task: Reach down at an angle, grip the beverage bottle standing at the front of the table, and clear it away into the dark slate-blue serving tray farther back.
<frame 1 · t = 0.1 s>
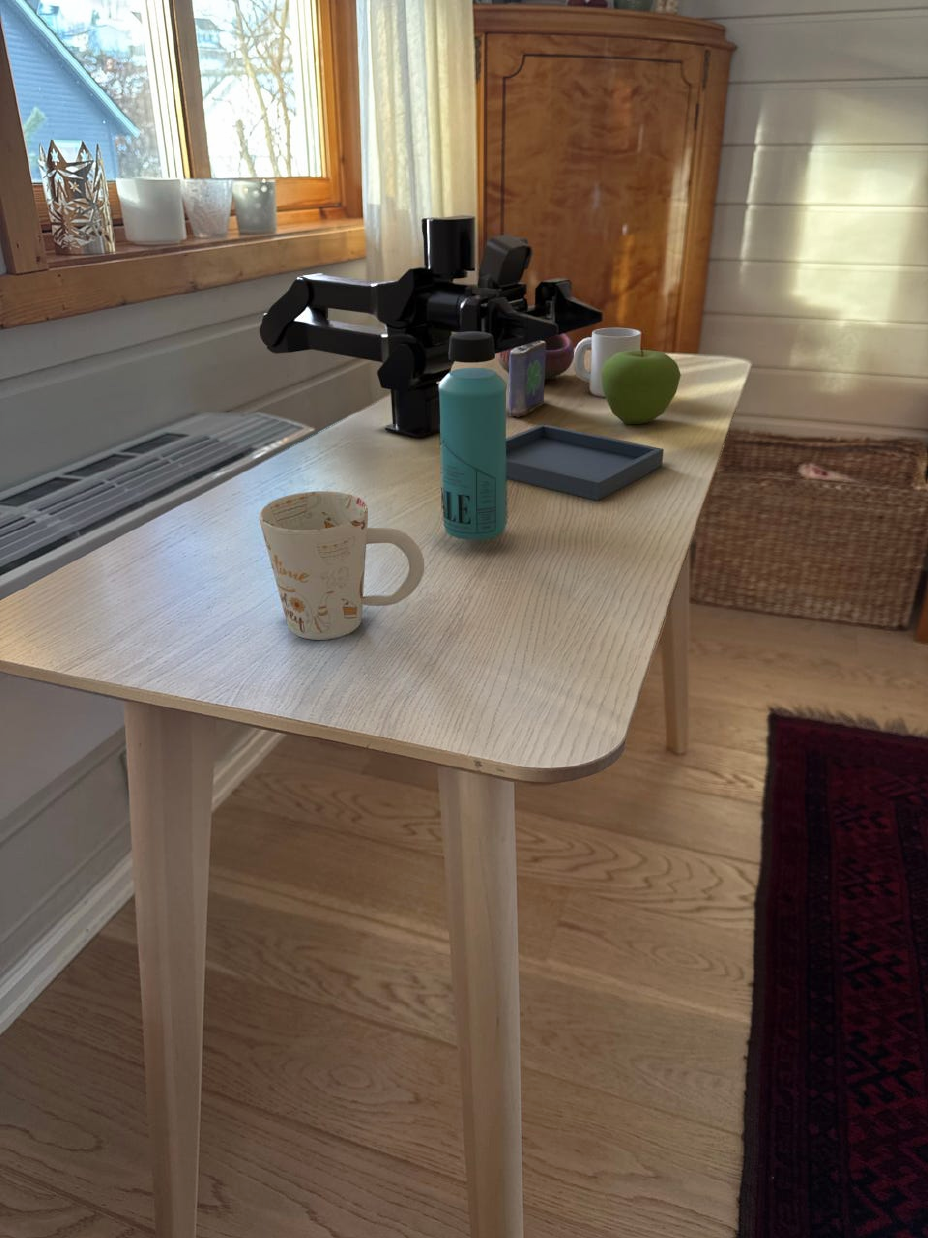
hand: (580, 323, 100), 17 cm above the table, tool horizontal, fingers open, 9 cm apart
apple: (636, 422, 124), on the table
flask: (525, 410, 130), on the table
bowl: (524, 379, 147), on the table
beverage bottle: (474, 543, 88), on the table
tray: (567, 467, 107), on the table
cup: (603, 392, 138), on the table
mug: (351, 623, 74), on the table
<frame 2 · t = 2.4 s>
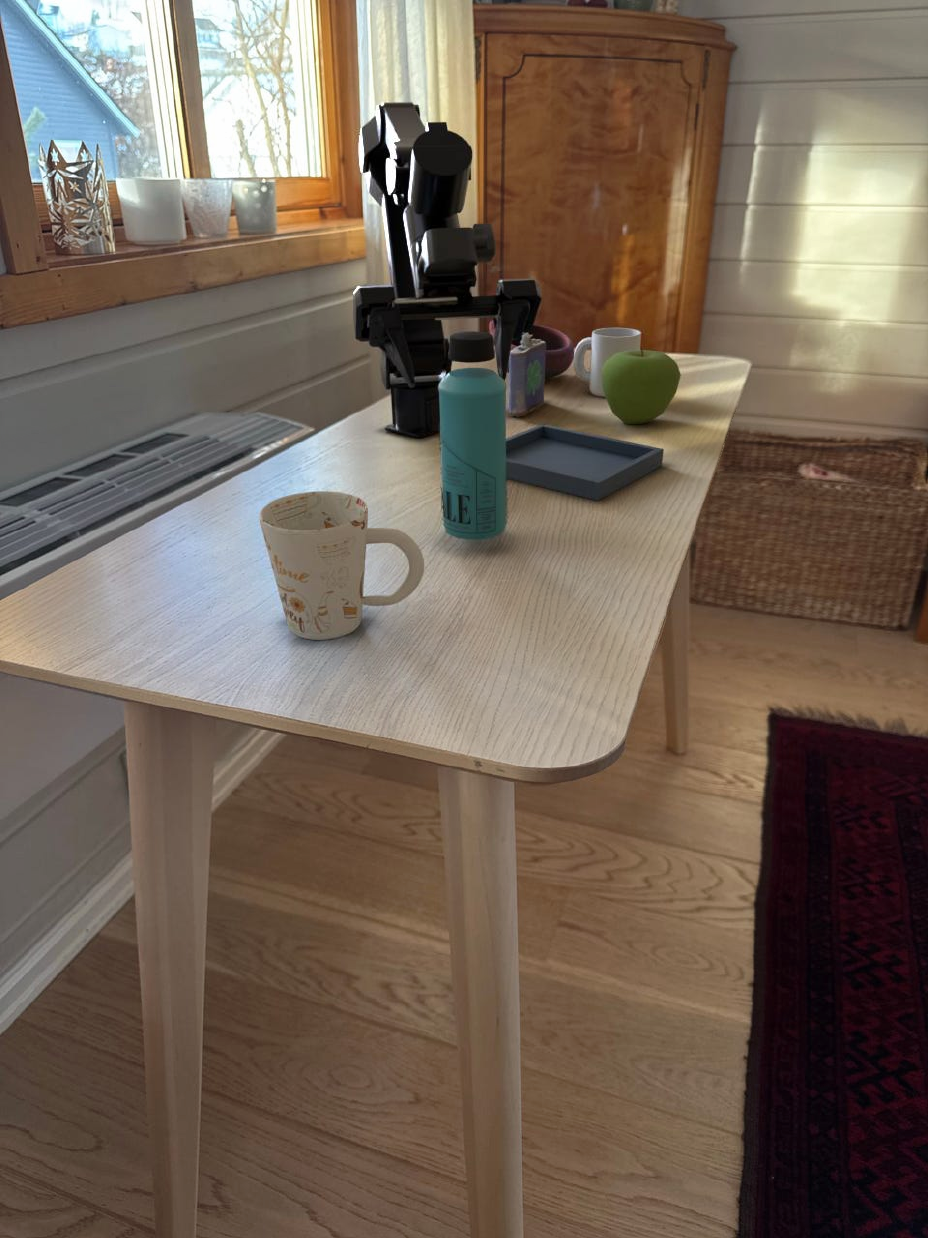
hand: (458, 382, 89), 14 cm above the table, tool tilted 45°, fingers open, 9 cm apart
nothing on the table moved.
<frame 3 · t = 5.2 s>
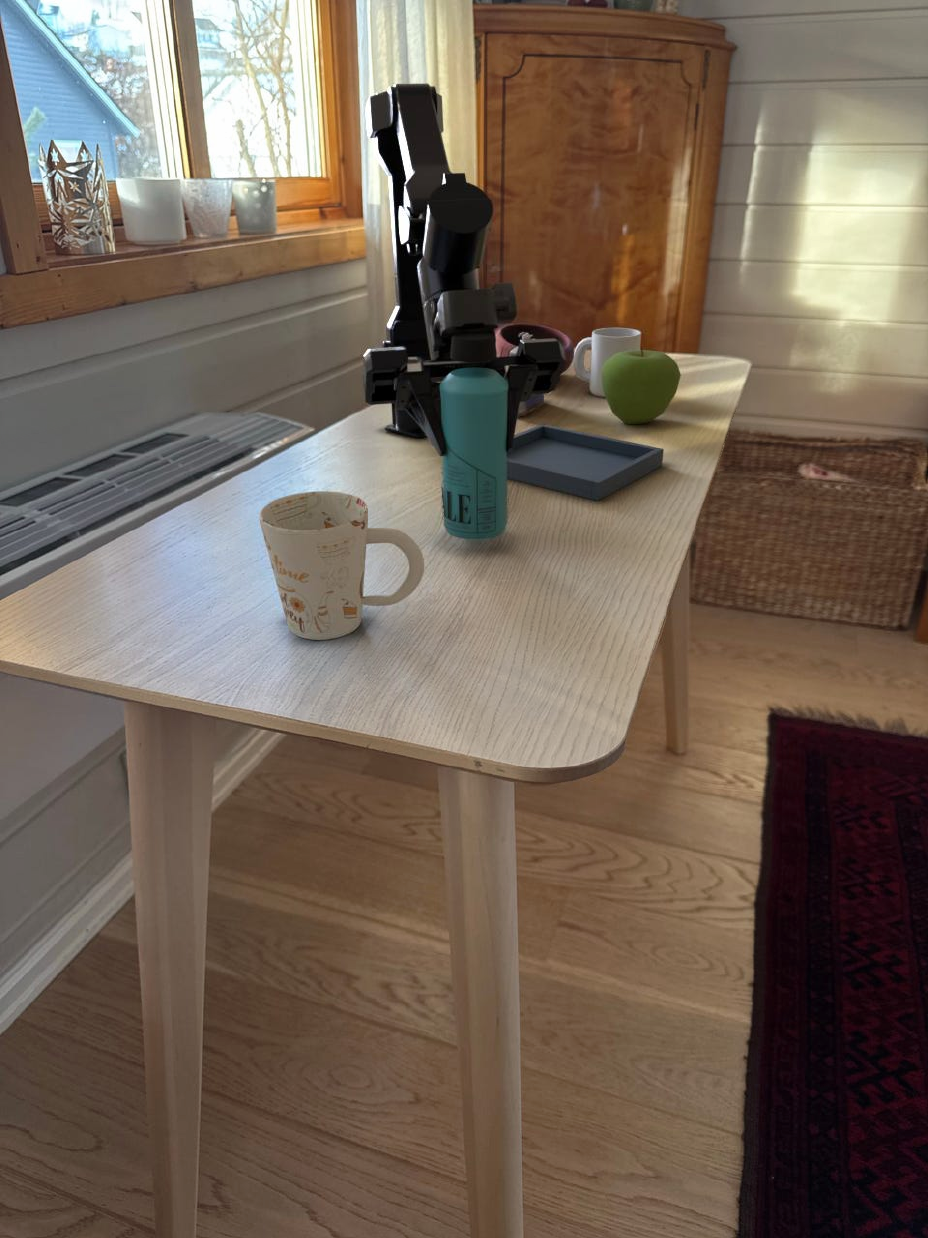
hand: (476, 451, 82), 10 cm above the table, tool tilted 45°, fingers closed on beverage bottle, 6 cm apart
beverage bottle: (474, 543, 88), on the table, touching gripper
everything else where it was.
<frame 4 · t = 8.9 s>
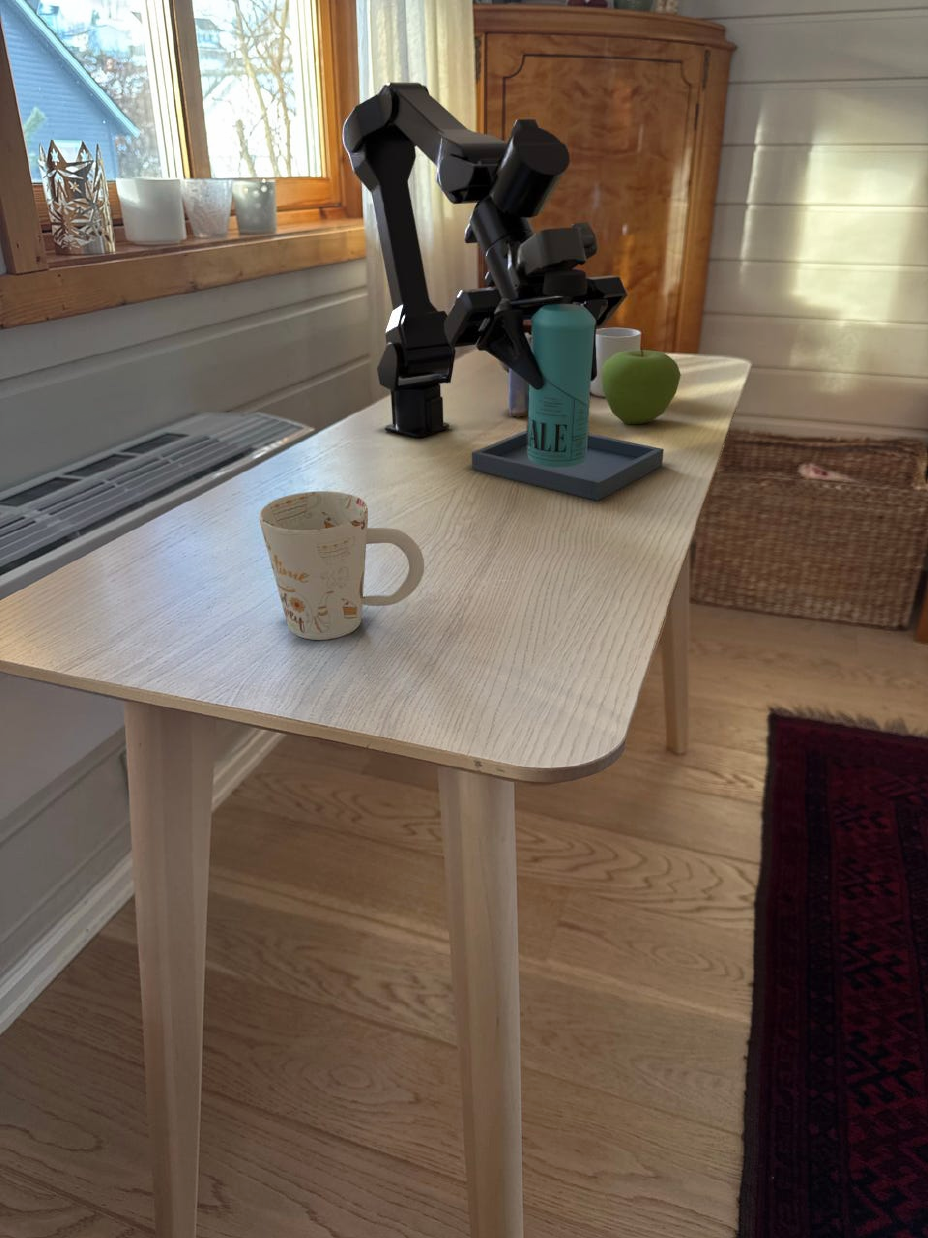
hand: (567, 383, 88), 14 cm above the table, tool tilted 45°, fingers closed on beverage bottle, 6 cm apart
beverage bottle: (555, 473, 94), point 4 cm above the table, touching gripper
everything else where it was.
when the fingers open (10 cm above the table, at t = 12.6 s): beverage bottle stays where it is, resting on tray.
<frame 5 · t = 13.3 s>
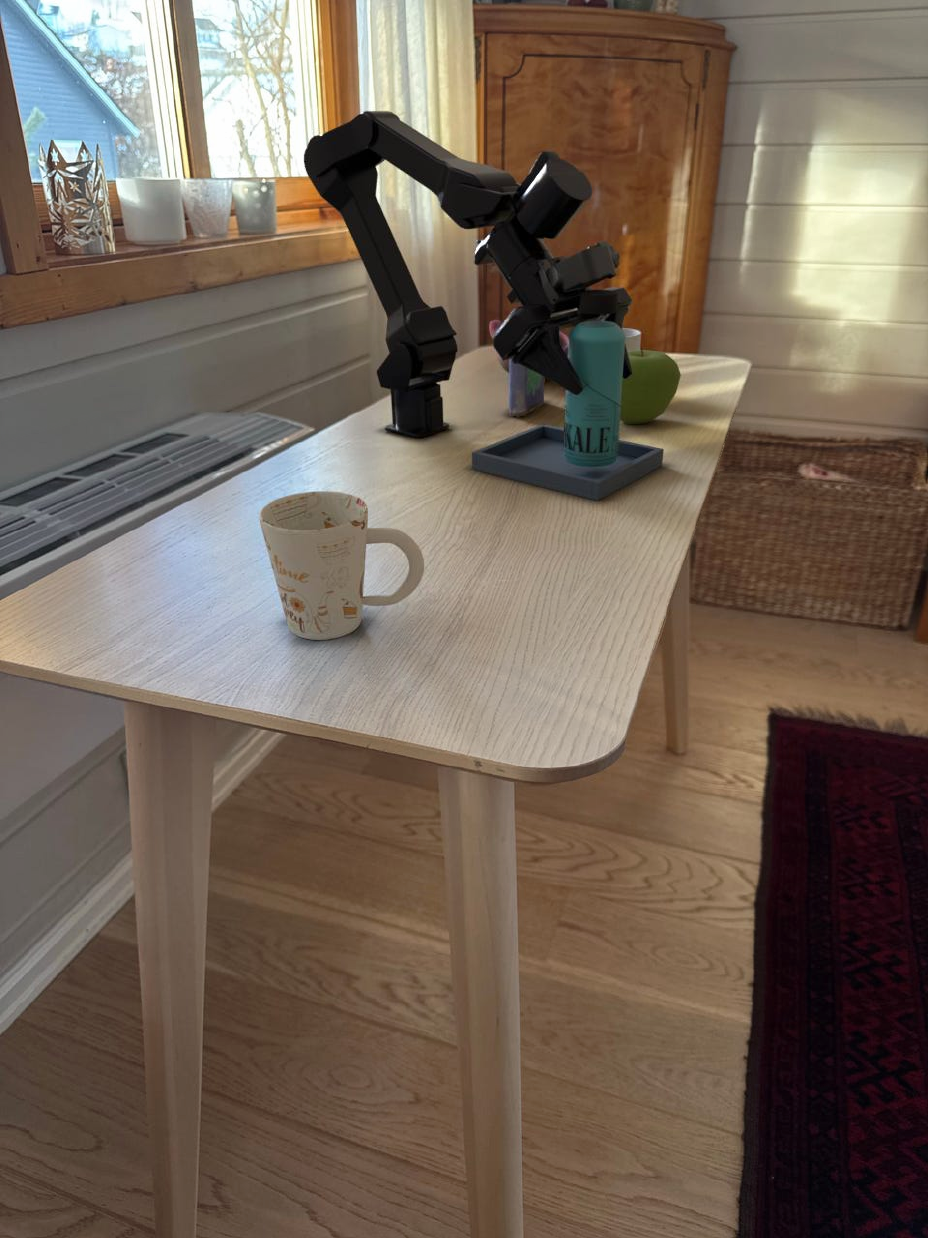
hand: (605, 384, 98), 11 cm above the table, tool tilted 45°, fingers open, 9 cm apart
beverage bottle: (589, 472, 104), resting on tray
everything else where it was.
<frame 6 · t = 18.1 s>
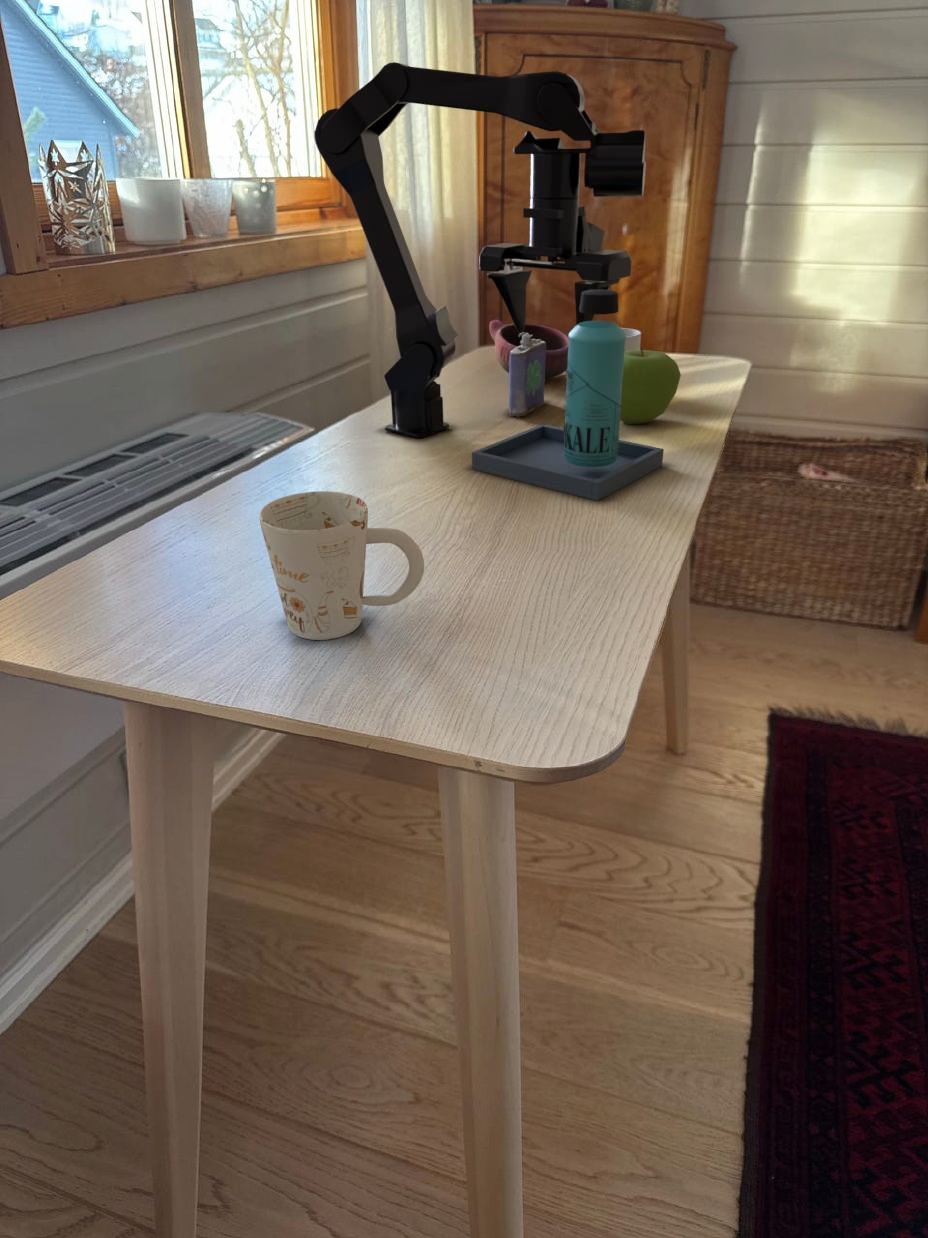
hand: (550, 334, 112), 13 cm above the table, tool pointing down, fingers open, 9 cm apart
nothing on the table moved.
at the end: beverage bottle inside the target area in the tray (3.9 cm from its centre), point 0.4 cm above the tray's base; beverage bottle tilted 0°; the gripper is holding nothing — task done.
